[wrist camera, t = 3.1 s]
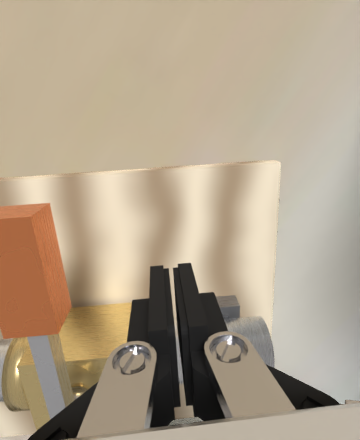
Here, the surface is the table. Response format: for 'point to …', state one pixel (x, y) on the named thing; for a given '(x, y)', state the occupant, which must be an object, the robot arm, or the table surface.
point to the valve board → (159, 237)
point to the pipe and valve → (99, 351)
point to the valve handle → (35, 295)
